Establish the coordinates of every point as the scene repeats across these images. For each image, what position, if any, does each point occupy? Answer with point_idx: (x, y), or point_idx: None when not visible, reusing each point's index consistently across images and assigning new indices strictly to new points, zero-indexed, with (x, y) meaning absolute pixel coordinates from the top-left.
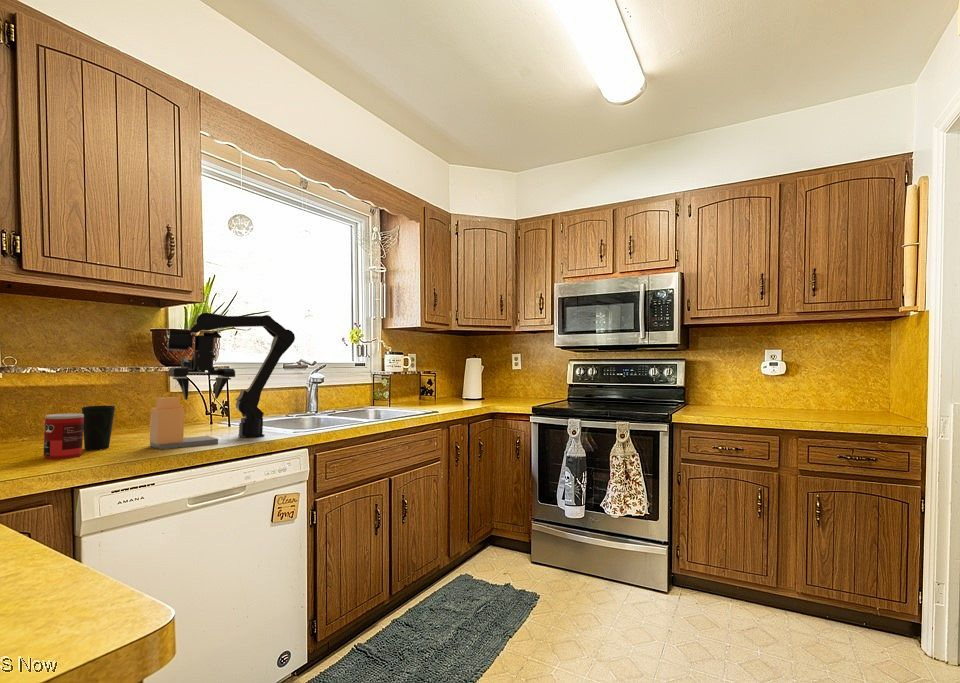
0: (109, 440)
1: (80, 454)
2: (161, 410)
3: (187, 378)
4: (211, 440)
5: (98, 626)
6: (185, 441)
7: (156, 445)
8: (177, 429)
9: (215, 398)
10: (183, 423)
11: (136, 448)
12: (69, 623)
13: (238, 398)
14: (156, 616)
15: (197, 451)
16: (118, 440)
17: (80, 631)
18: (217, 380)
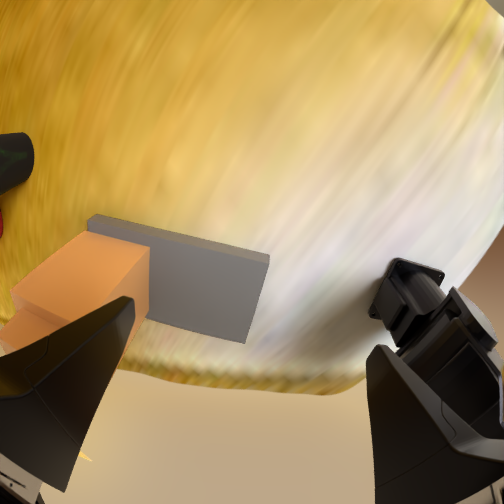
0: (18, 176)
1: (1, 232)
2: None
3: (55, 485)
4: (224, 337)
5: (81, 455)
6: (155, 311)
7: None
8: None
9: (372, 350)
10: (125, 350)
11: (68, 225)
12: None
13: (439, 388)
14: (91, 460)
15: (159, 364)
16: (90, 30)
17: None
18: (444, 479)
